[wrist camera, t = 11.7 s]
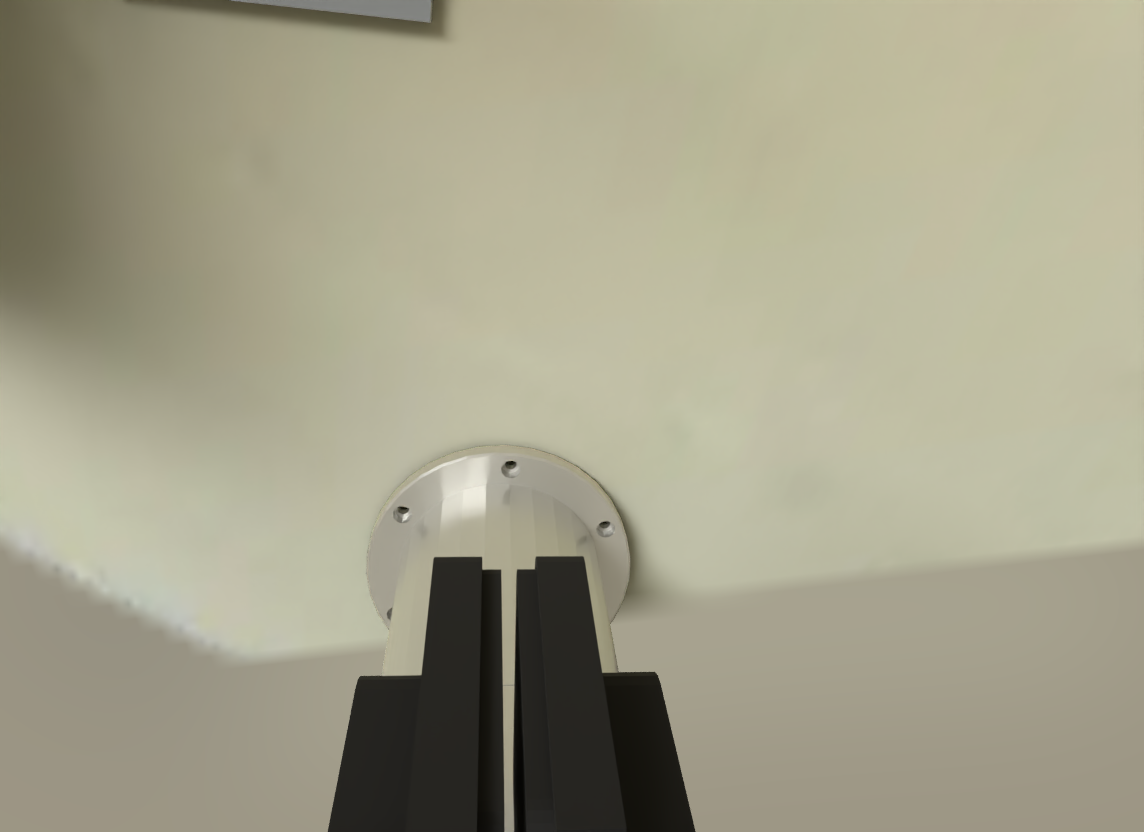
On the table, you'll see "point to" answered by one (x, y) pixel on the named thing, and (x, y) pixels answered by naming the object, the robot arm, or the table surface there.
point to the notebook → (363, 7)
